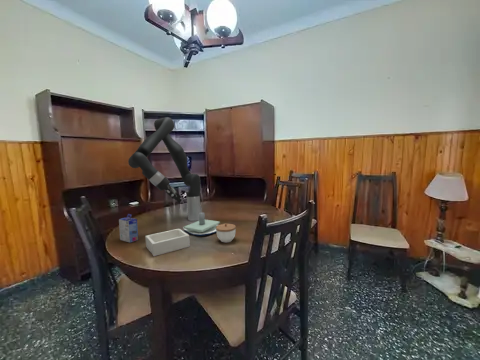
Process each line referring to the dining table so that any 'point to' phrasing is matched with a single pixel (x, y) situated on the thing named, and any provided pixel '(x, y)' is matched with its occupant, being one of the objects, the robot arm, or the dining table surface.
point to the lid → (201, 224)
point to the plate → (206, 232)
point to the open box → (167, 241)
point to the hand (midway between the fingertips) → (180, 199)
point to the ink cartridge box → (128, 229)
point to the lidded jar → (226, 232)
